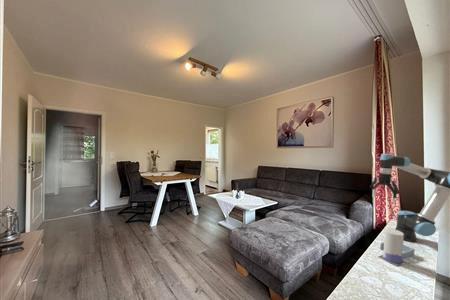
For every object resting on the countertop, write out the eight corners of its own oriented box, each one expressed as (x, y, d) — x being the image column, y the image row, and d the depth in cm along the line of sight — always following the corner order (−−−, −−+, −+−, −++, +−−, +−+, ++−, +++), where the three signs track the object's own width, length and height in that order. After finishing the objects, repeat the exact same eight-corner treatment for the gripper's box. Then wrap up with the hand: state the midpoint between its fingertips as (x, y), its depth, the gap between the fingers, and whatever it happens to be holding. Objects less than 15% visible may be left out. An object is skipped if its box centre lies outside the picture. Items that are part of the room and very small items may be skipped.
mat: (387, 253, 147) (387, 253, 147) (405, 262, 137) (405, 261, 137) (378, 257, 143) (378, 256, 143) (396, 266, 133) (396, 265, 133)
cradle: (391, 245, 159) (391, 239, 159) (414, 255, 146) (414, 249, 145) (380, 249, 153) (380, 243, 153) (402, 260, 140) (403, 253, 140)
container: (395, 255, 144) (397, 229, 143) (404, 264, 134) (407, 235, 133) (379, 253, 146) (382, 227, 145) (388, 262, 136) (390, 234, 135)
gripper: (365, 170, 168) (364, 195, 169) (401, 176, 145) (398, 204, 146) (371, 170, 171) (369, 194, 172) (407, 176, 148) (404, 203, 149)
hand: (383, 199), depth 159 cm, fingers open, 13 cm apart
